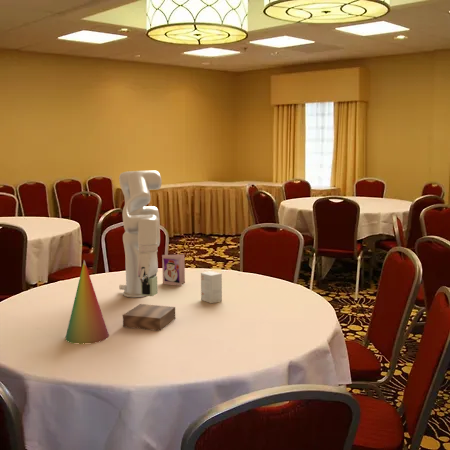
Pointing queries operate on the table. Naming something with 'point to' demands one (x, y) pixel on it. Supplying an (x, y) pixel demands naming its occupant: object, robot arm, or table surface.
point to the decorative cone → (86, 314)
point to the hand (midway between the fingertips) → (149, 291)
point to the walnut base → (149, 317)
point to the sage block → (151, 286)
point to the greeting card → (173, 269)
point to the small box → (211, 287)
